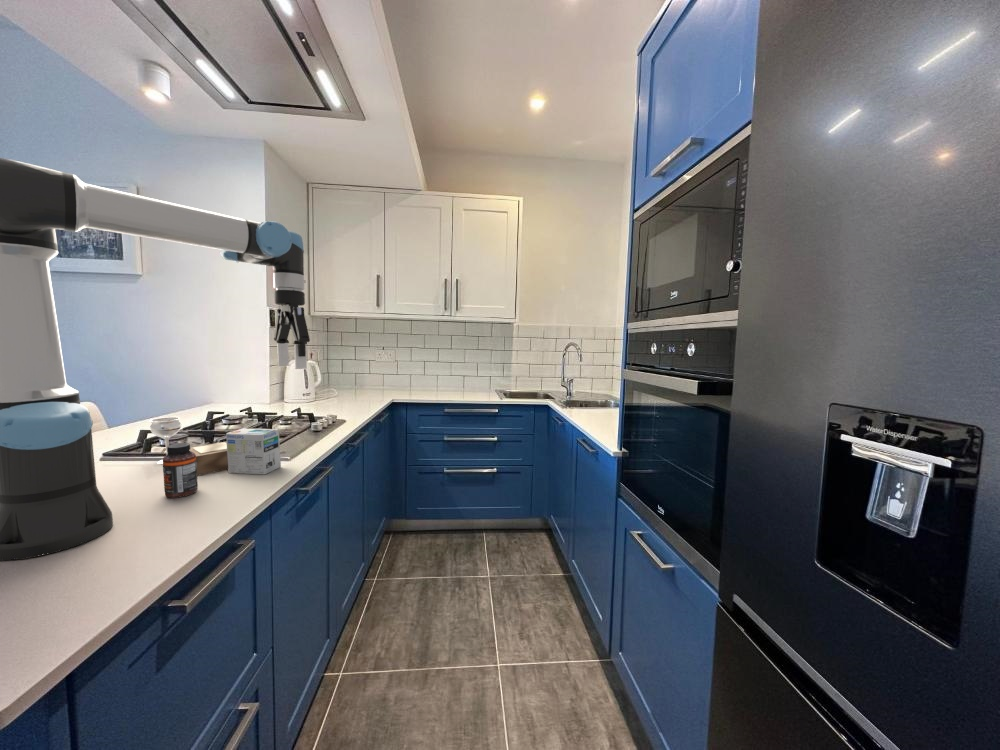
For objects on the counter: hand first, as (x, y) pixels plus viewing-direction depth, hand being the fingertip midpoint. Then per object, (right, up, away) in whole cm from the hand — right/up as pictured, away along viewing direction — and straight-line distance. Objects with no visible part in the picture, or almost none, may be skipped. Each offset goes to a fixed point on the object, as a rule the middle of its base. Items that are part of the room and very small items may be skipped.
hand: (291, 367), depth 114 cm
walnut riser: (-20, -27, -2) cm, 34 cm away
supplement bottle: (-14, -29, -22) cm, 39 cm away
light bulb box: (-7, -28, -5) cm, 29 cm away
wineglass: (-36, -27, +2) cm, 45 cm away
